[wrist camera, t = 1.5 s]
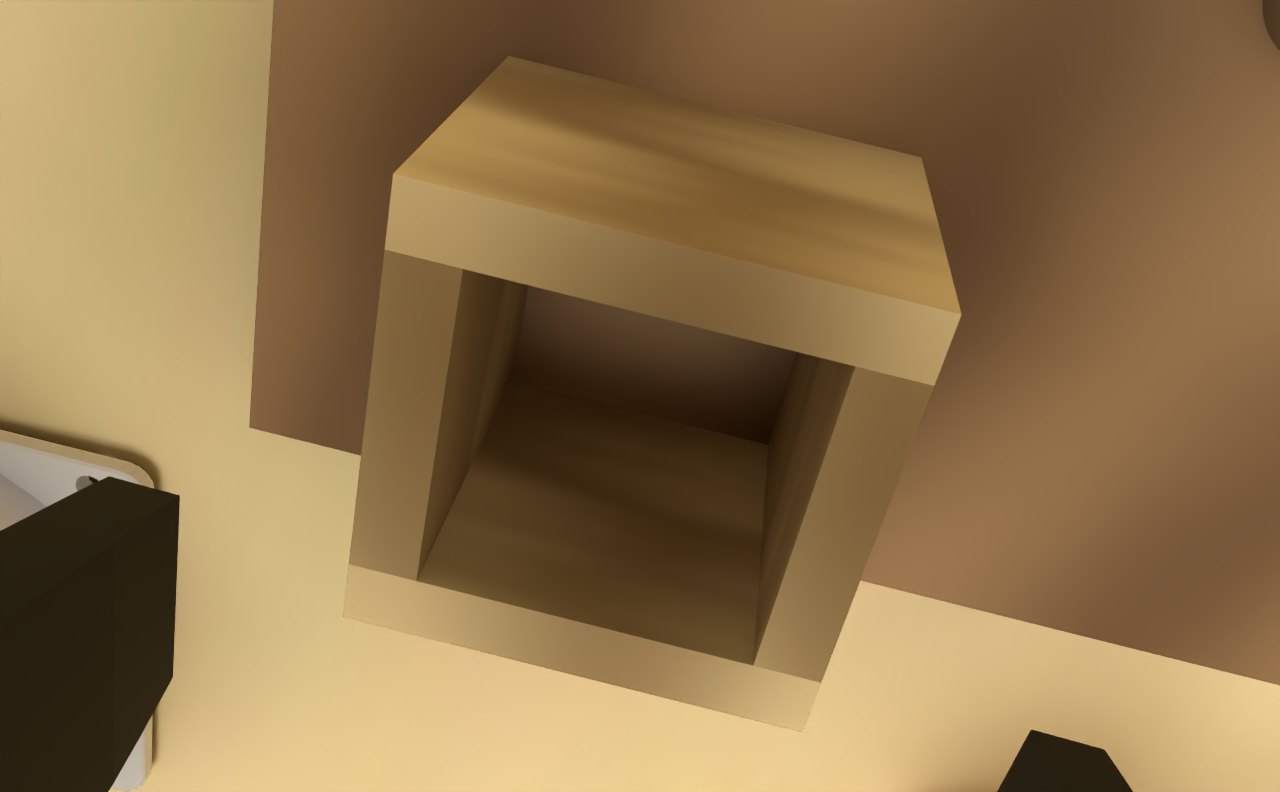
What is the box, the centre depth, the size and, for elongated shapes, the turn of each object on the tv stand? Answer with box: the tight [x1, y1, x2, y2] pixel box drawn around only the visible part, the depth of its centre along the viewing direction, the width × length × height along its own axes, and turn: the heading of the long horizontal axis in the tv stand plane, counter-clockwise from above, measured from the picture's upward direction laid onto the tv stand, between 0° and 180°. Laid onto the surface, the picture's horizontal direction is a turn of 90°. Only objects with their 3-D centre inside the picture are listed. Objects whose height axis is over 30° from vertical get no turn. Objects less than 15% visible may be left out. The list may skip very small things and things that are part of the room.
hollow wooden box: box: [343, 56, 962, 732], centre depth 15 cm, size 6×6×5 cm
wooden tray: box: [249, 0, 1280, 685], centre depth 15 cm, size 18×14×5 cm
